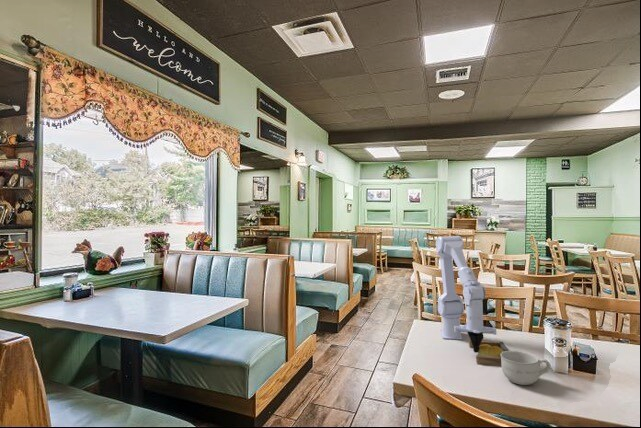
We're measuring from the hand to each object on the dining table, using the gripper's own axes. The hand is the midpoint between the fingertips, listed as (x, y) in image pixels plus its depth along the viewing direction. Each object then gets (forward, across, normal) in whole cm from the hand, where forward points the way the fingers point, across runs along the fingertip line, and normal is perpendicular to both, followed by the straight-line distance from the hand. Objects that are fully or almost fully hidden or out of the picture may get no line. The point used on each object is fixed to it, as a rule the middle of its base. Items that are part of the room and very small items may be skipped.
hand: (475, 351), depth 129 cm
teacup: (+2, +12, -18) cm, 21 cm away
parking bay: (+1, +4, 0) cm, 5 cm away
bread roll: (+2, +5, 0) cm, 6 cm away
